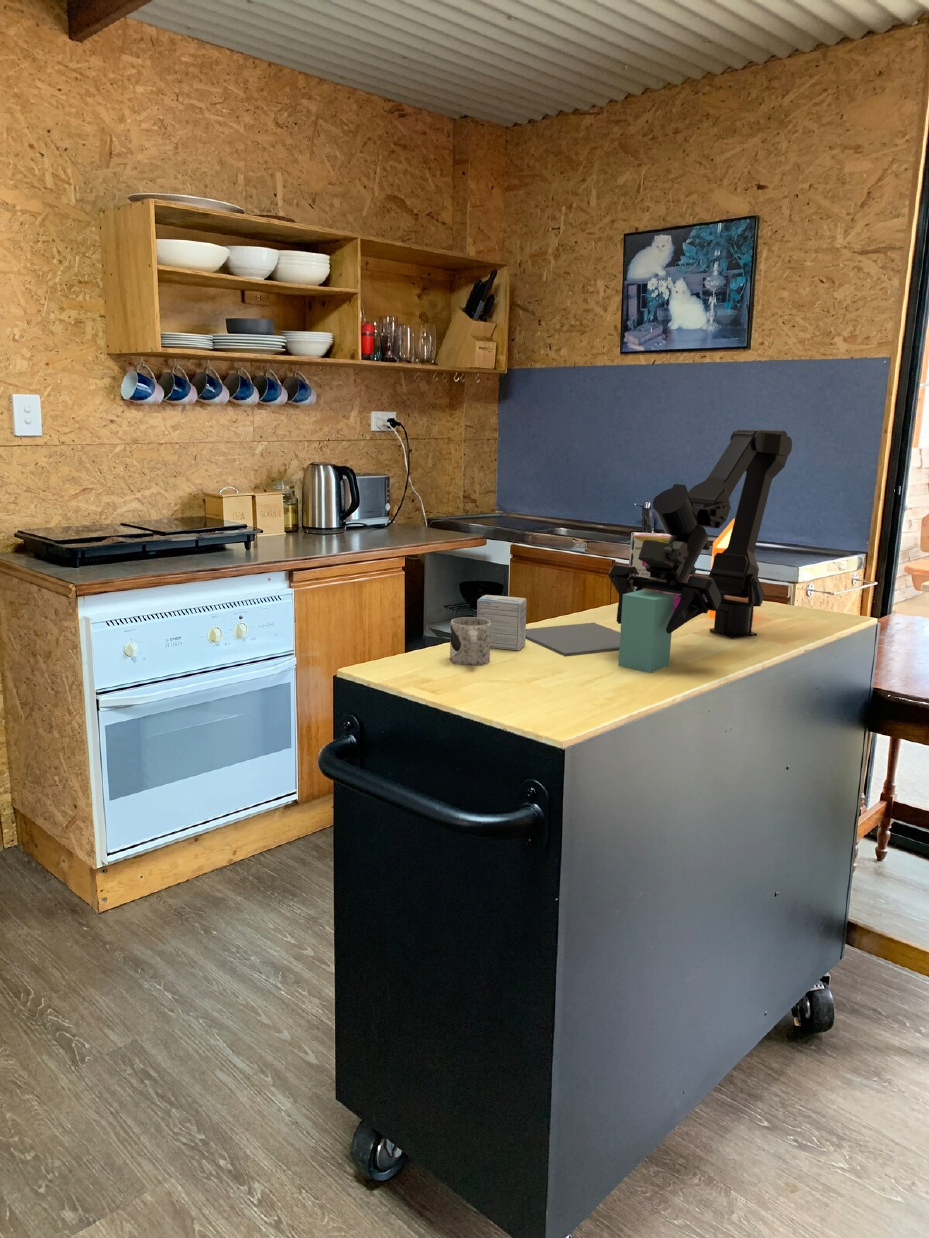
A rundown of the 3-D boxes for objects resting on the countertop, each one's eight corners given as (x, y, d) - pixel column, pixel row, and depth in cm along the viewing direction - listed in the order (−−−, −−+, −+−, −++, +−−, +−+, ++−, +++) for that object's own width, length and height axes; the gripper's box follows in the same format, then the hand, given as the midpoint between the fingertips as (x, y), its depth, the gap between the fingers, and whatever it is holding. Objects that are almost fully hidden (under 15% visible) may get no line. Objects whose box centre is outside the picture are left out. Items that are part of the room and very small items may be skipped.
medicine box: (525, 645, 165) (527, 597, 163) (519, 651, 161) (520, 602, 159) (483, 641, 167) (484, 594, 165) (475, 647, 163) (477, 598, 161)
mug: (448, 655, 157) (449, 617, 156) (487, 655, 158) (489, 617, 156) (452, 671, 147) (453, 631, 146) (493, 671, 148) (495, 631, 146)
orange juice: (708, 618, 191) (716, 520, 186) (706, 609, 199) (714, 516, 195) (747, 620, 189) (756, 522, 185) (744, 612, 197) (753, 518, 193)
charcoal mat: (593, 625, 182) (593, 622, 182) (650, 646, 166) (650, 643, 166) (513, 632, 174) (513, 630, 174) (565, 656, 158) (565, 653, 158)
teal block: (637, 659, 158) (642, 589, 155) (669, 666, 154) (674, 595, 151) (618, 665, 153) (622, 594, 151) (650, 673, 149) (655, 600, 147)
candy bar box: (626, 613, 193) (631, 534, 190) (625, 608, 198) (630, 531, 195) (681, 615, 192) (687, 536, 189) (678, 610, 197) (684, 533, 194)
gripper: (617, 516, 157) (576, 588, 152) (719, 527, 145) (679, 606, 140) (638, 558, 165) (600, 628, 159) (737, 572, 153) (699, 648, 147)
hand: (642, 627), depth 151 cm, fingers open, 9 cm apart
